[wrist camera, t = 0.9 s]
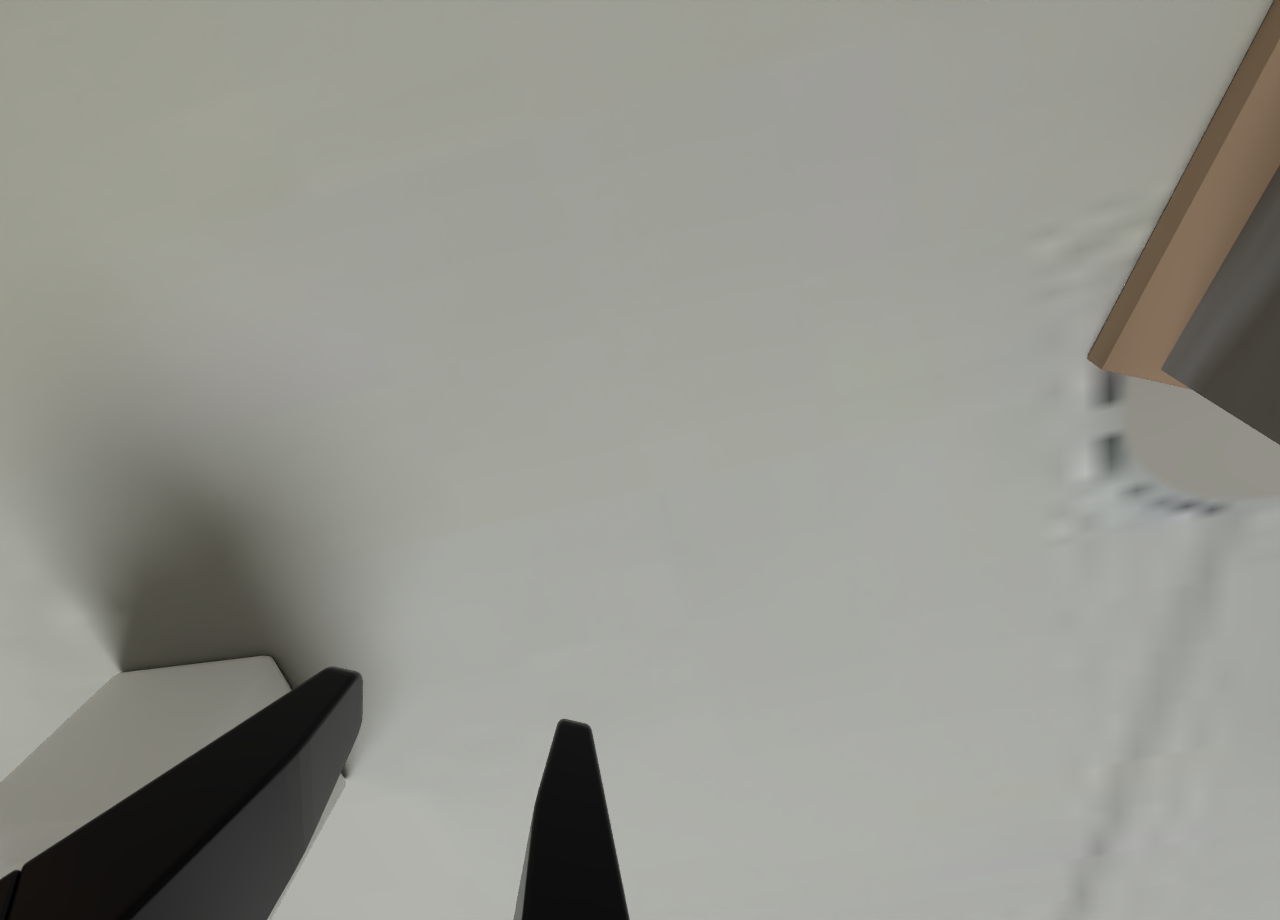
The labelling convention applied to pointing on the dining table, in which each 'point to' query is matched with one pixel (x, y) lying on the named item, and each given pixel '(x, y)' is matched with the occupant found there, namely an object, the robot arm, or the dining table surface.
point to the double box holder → (1215, 260)
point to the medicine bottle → (130, 748)
